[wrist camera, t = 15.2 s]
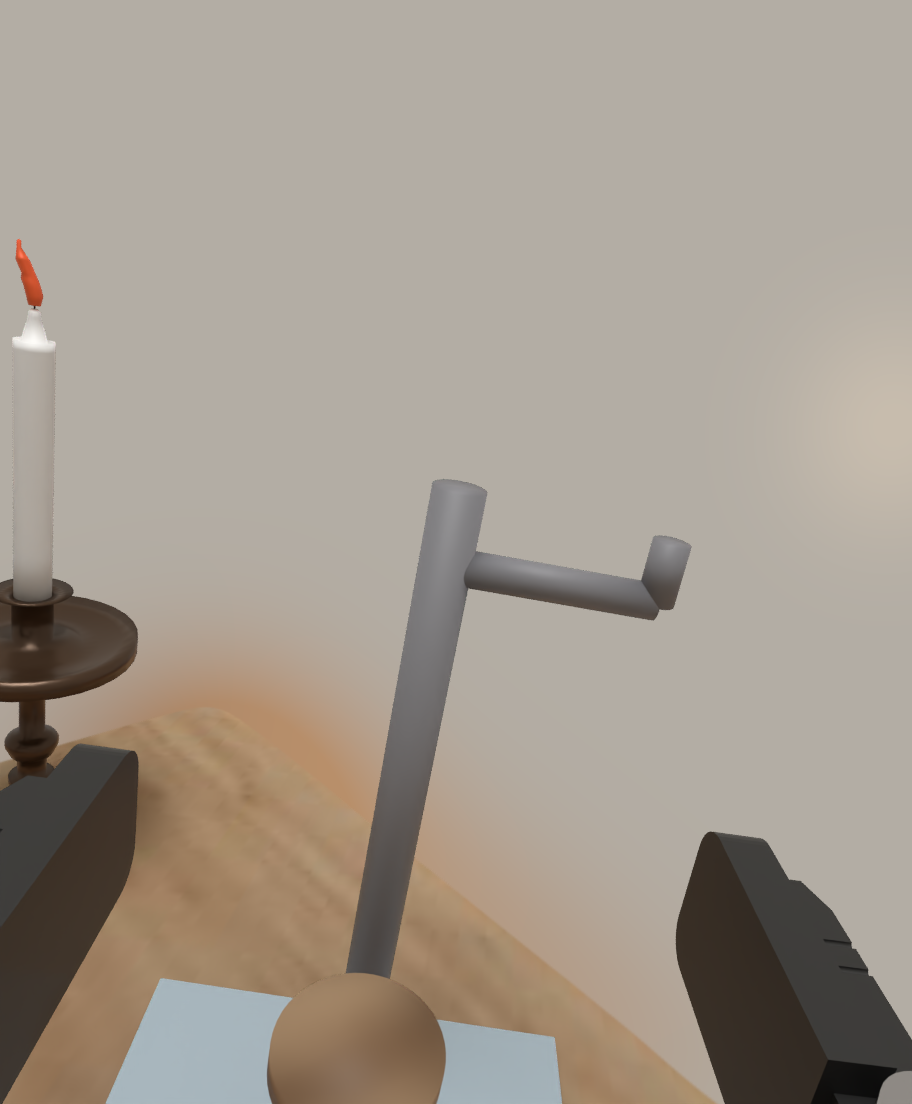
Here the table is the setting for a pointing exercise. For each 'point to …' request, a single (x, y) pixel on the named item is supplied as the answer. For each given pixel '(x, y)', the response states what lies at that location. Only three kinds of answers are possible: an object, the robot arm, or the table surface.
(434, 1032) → the cord spool
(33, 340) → the candlestick
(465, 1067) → the hook stand
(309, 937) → the table surface
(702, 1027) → the robot arm
